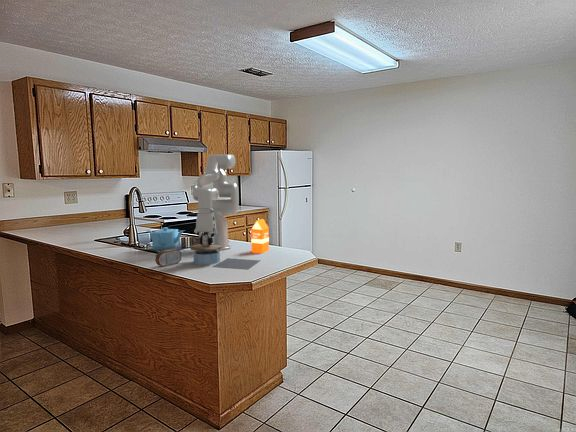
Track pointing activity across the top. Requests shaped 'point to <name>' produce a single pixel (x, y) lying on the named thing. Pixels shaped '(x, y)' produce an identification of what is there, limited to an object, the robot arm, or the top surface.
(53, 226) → the top surface
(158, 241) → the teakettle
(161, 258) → the tin
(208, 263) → the bowl
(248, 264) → the mat
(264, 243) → the orange juice
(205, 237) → the lid
